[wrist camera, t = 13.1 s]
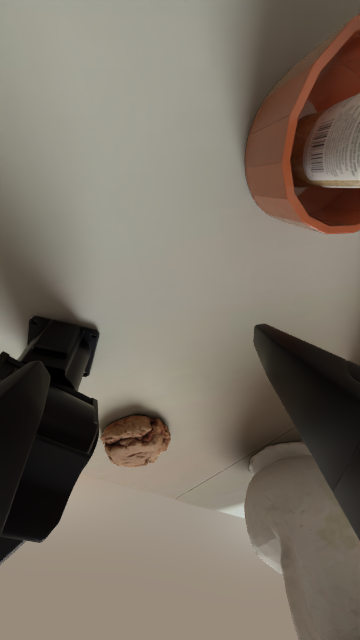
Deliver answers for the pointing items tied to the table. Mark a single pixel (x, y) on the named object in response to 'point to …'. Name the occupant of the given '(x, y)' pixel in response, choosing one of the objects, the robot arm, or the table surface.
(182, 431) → the table surface
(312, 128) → the sprinkles bottle
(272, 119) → the bowl
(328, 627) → the ceramic pitcher
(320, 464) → the robot arm
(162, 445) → the cookie
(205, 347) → the table surface
